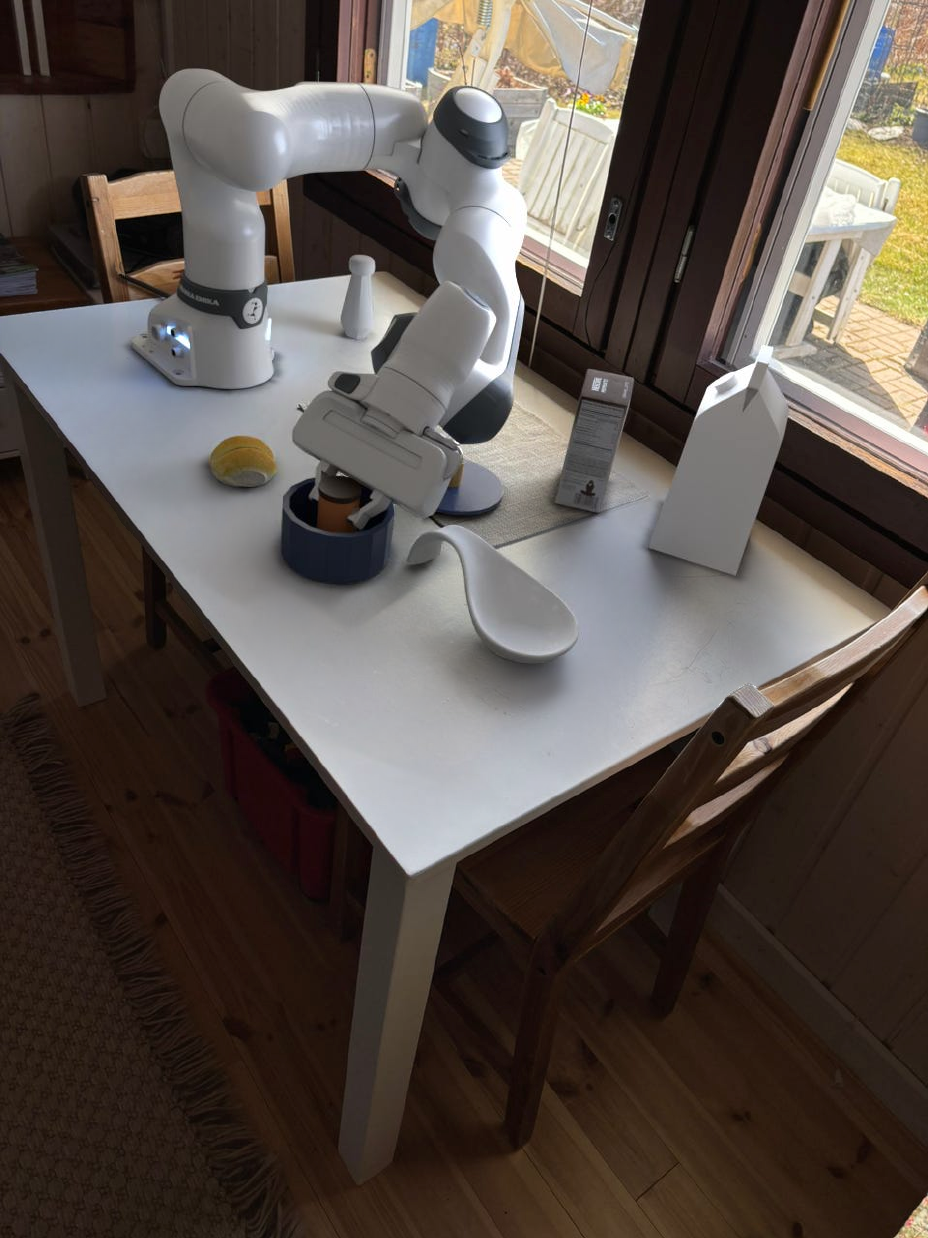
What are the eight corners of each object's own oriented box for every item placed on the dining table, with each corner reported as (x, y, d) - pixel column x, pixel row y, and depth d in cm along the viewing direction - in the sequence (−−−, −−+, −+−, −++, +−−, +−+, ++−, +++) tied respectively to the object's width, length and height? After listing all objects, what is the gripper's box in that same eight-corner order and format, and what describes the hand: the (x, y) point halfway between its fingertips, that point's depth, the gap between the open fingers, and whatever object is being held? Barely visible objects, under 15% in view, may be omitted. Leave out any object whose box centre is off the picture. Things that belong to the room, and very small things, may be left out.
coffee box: (561, 471, 135) (587, 365, 125) (605, 482, 135) (635, 376, 125) (553, 503, 128) (580, 394, 118) (600, 514, 127) (630, 405, 118)
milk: (735, 575, 121) (811, 386, 105) (648, 547, 123) (709, 357, 107) (746, 530, 130) (818, 350, 114) (664, 505, 132) (724, 324, 116)
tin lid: (377, 486, 125) (381, 454, 122) (443, 453, 134) (447, 423, 131) (459, 531, 119) (465, 500, 116) (522, 494, 129) (528, 464, 126)
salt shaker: (339, 325, 164) (344, 248, 156) (372, 328, 165) (379, 252, 157) (339, 339, 159) (345, 261, 151) (373, 342, 160) (381, 265, 152)
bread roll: (269, 452, 127) (270, 425, 125) (279, 488, 121) (280, 460, 118) (206, 453, 125) (205, 426, 122) (212, 489, 118) (212, 461, 116)
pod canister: (306, 542, 110) (309, 484, 106) (335, 527, 114) (339, 470, 109) (336, 560, 109) (340, 502, 104) (364, 545, 112) (370, 488, 107)
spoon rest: (593, 656, 104) (609, 605, 100) (515, 695, 97) (529, 642, 93) (456, 546, 117) (464, 496, 112) (378, 573, 110) (384, 521, 105)
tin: (258, 548, 110) (258, 500, 106) (333, 510, 119) (337, 464, 115) (337, 599, 105) (341, 550, 101) (410, 555, 114) (417, 509, 110)
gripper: (479, 460, 107) (414, 563, 107) (347, 391, 116) (285, 487, 115) (461, 436, 101) (391, 545, 101) (323, 366, 110) (258, 466, 109)
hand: (334, 514), depth 108 cm, fingers closed on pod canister, 4 cm apart
